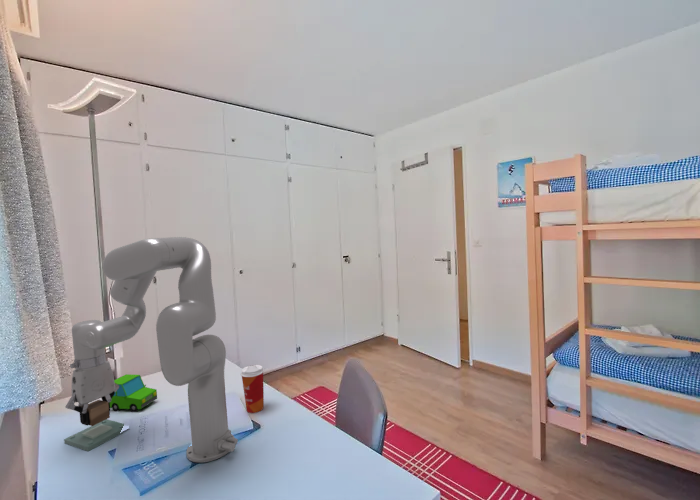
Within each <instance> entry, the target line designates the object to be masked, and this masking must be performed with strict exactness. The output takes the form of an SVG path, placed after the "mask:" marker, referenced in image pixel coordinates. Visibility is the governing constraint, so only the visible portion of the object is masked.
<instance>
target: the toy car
mask: <svg viewBox="0 0 700 500" xmlns="http://www.w3.org/2000/svg"><path fill="white" fill-rule="evenodd" d="M114 382H115V383H116V384H118V385H119V388H118V390H117V391H116V392H115V394H114V396H113V397H112V399H111V402H110V409H112V411H114V412H119V411H120V410H121V409H122V410H123V409H124V410H130V411H131V412H132V413H136V412H138V411H139V410H142V409H143V408H145V407H146V406H148V405H149V404H151V403H152V402H154V401H156V400H157V399H158V391H157V389H156V388H153V387H152V388H151V387H148V386H147V384H145V383H144V381H143V379H142V377H141V374H123V375H122V376H120V377H118V378H116V379H114Z"/></svg>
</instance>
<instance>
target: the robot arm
mask: <svg viewBox="0 0 700 500" xmlns="http://www.w3.org/2000/svg"><path fill="white" fill-rule="evenodd" d="M177 268H178V269H179V268H181V269H182V270H181V273H180V274H179V277H178V278H179V279H178V287H177V288H178V289H177V290H178V292H179V293H178V294H179V295H178V296H179V297H178V298H179V299H178V300H179V301H178V302H176V303H172V304H169V305H168V306H166V307H165V308H162V310H161V311H160V313H159V314H158V317H157V320H156V324H155V326H156V328H155V330H156V341H157V346H158V347H157V348H158V355H159V362H160V368H161V371H162V372H161V373H162V375H163V377H164V379H165V381H167V382H168V384H170V385H172V386H176V387H179V386H180V387H181V386H184V385H187V400H188V410H189V411H188V413H189V421H190V422H189V424H190V425H189V426H190V438H191V443H192V446H190V447H189V446H187V449H186V452H185V453H186V458H187V460H189V461H191V462H193V463H200V464H201V463H207V462H212V461H216V460H217V459H221V458H222V457H224V456H226V455H227V454H229V453H230V452H234V451H235V450H236V445H238V442H239V439H238V438H236V437H235V436H234V435H233V434H232V430H231V429H229V423H228V422H229V420H228V408H227V398H226V382H225V366H226V357H227V353H226V352H227V350H226V345H225V343H224V342H223V340H222V338H220V337H219V336H217V335H215V334H203V335H200V336H197V337H195V336H196V335H199V334H201V333H203V332H205V331H208V330H209V329H210V328H212V327H213V326H214V325H215V323H216V320H217V316H216V315H217V313H216V306H215V305H216V302H215V297H214V295H215V294H214V288H213V282H212V281H213V280H212V259H211V254H210V253H209V250H208V249H207V247H206V246H205V245H204V244H203V242H201V241H199V240H197V239H196V238H195V239H194V238H191V237H187V236H185V237H184V236H183V237H182V236H177V237H176V236H172V237H171V236H170V237H154V238H153V237H151V238H145V239H140V240H138V241H135V242H132V243H129V244H125V245H123V246H120V247H116V248H114V249H112V250H111V251H109V252H108V253H107V254H106V255H105V257H104V259H103V262H102V271H103V274H104V275H105V277H107V278H108V279H109V280H112V281H113V284H112V286H111V288H110V290H109V291H110V292H109V294H110V296H111V298H112V299H113V300H114V301H115V302H117V303H120V304H121V305H124V306H126V307H125V310H124V312H123V313H122V315H121V316H119V317H115V318H112V319H111V318H110V319H109V320H105V321H101V320H100V319H99V320H98V319H91V320H85V321H80V322H76V323H74V324H73V325H72V327H71V336H72V337H71V338H72V345H73V346H72V347H73V357H74V359H73V363H70V364H69V368H70V369H73V371H72V375H71V395H70V398H69V399H68V401H67V403H66V404H65V406H64V407H65V409H67V410H72V411H75V412H77V413H79V420H80V421H79V422H80V424H81V425H84V426H88V427H89V426H90V417H89V412H87V408H88V404H90V403H92V402H94V401H97V400H102V401H106V402H108V405H109V415H111V414H110V413H111V408H110V402H111V399H112V397H113V396H114V394H115V392H116V391H117V390H118V388H119V385H118V384H116V383H115V382H114V380H115V378H114V373H113V369H112V366H111V364H110V361H108V360H107V359H106V358H107V357H106V350H105V349H106V348H108V347H112V346H114V345H117V344H119V343H122V342H125V341H127V340H130V339H132V338H133V337H135V336H136V335H137V333H138V332H139V330H140V329H141V327H142V326H143V323H144V321H145V319H146V317H147V316H146V315H147V308H146V303H145V300H144V297H145V295H146V293H147V291H148V289H149V288H150V285H151V283H152V281H153V279H154V278H155V275H156V273H157V272H159V271H160V272H161V271H165V270H172V269H177ZM193 337H195V338H193ZM75 403H78V404H77V405H75Z"/></svg>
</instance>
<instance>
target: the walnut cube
mask: <svg viewBox="0 0 700 500" xmlns="http://www.w3.org/2000/svg"><path fill="white" fill-rule="evenodd" d="M87 412H89V417H90V425H89V427H91V426H94V425H96V424H98V423H100V422H102V421H104V420H106V419H108V420H109V419H110V415H111V414H110V415H109V405H108V402H106V401H102V399H97V400H94V401H92V402H90V403H88V408H87Z"/></svg>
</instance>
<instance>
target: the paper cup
mask: <svg viewBox="0 0 700 500" xmlns="http://www.w3.org/2000/svg"><path fill="white" fill-rule="evenodd" d="M264 372H265V369H264V368H263V366H262V365H260V364H255V365H250V366H248V365H247V366H245V367H243V368H242V369H241V373H240V376H241V380H242V387H243V395H244V400H245V403H244V404H245V408H246V412H247V413H249V414H255V413H259V412H261V411H262V410H263V409H264V405H265V404H264V400H265V399H264V395H265V393H264Z"/></svg>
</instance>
